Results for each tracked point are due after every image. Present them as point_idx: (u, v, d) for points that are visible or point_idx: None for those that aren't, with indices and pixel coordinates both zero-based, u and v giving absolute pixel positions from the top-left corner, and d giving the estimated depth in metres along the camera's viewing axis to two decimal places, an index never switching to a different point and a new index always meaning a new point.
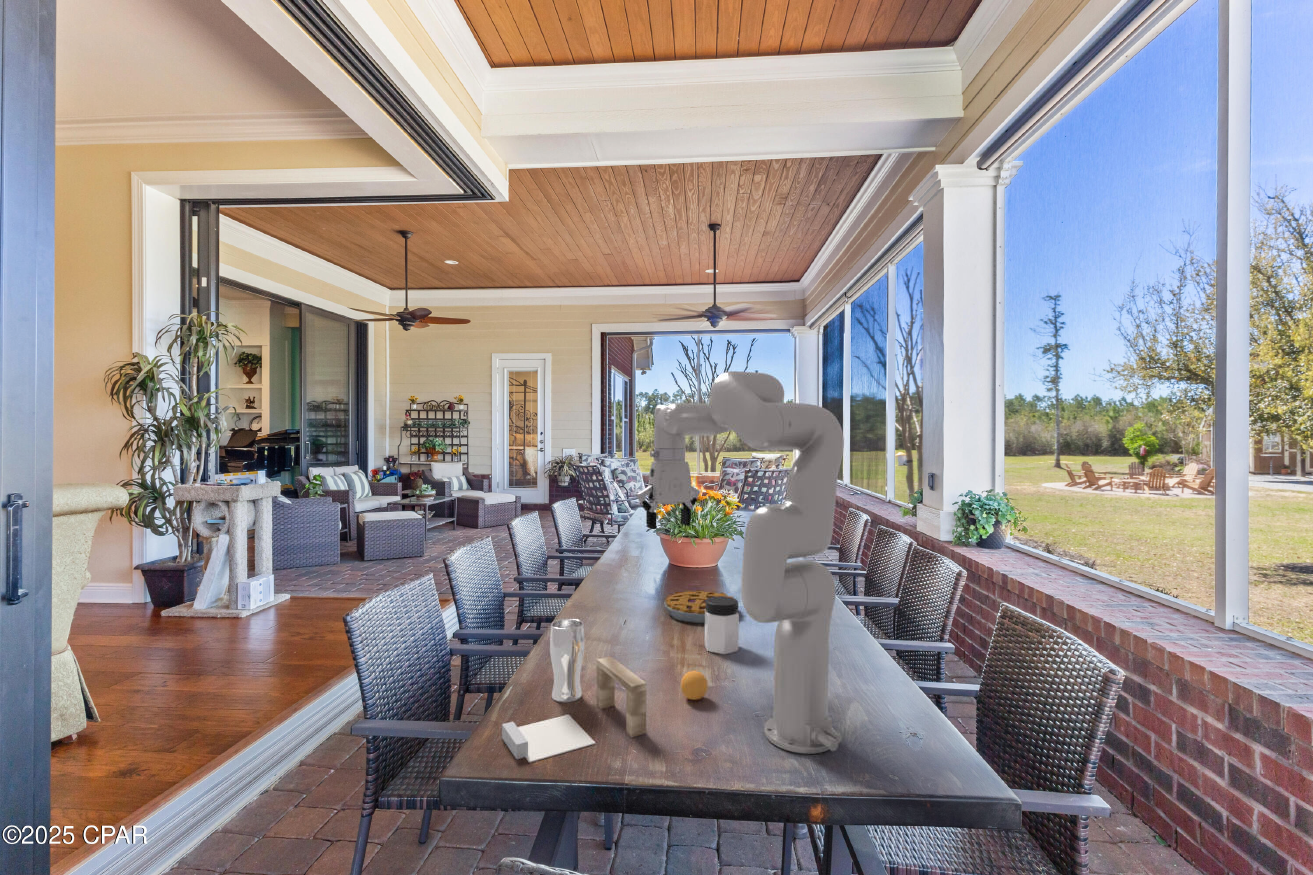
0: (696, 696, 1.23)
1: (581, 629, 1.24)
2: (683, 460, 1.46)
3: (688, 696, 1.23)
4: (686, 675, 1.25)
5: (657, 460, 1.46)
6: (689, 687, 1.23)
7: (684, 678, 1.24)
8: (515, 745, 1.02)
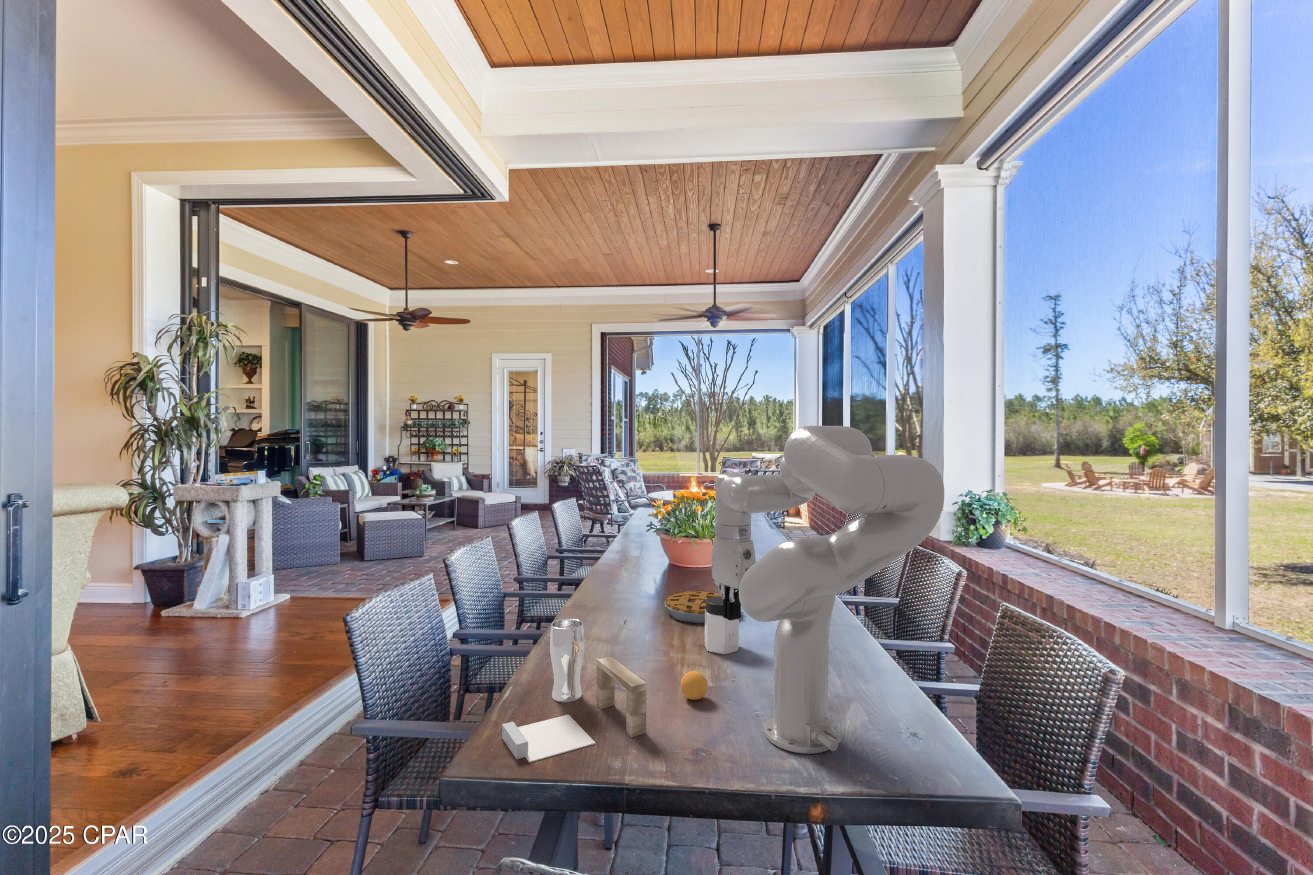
0: (696, 696, 1.23)
1: (581, 629, 1.24)
2: None
3: (688, 696, 1.23)
4: (686, 675, 1.25)
5: (746, 539, 1.26)
6: (689, 687, 1.23)
7: (684, 678, 1.24)
8: (515, 745, 1.02)
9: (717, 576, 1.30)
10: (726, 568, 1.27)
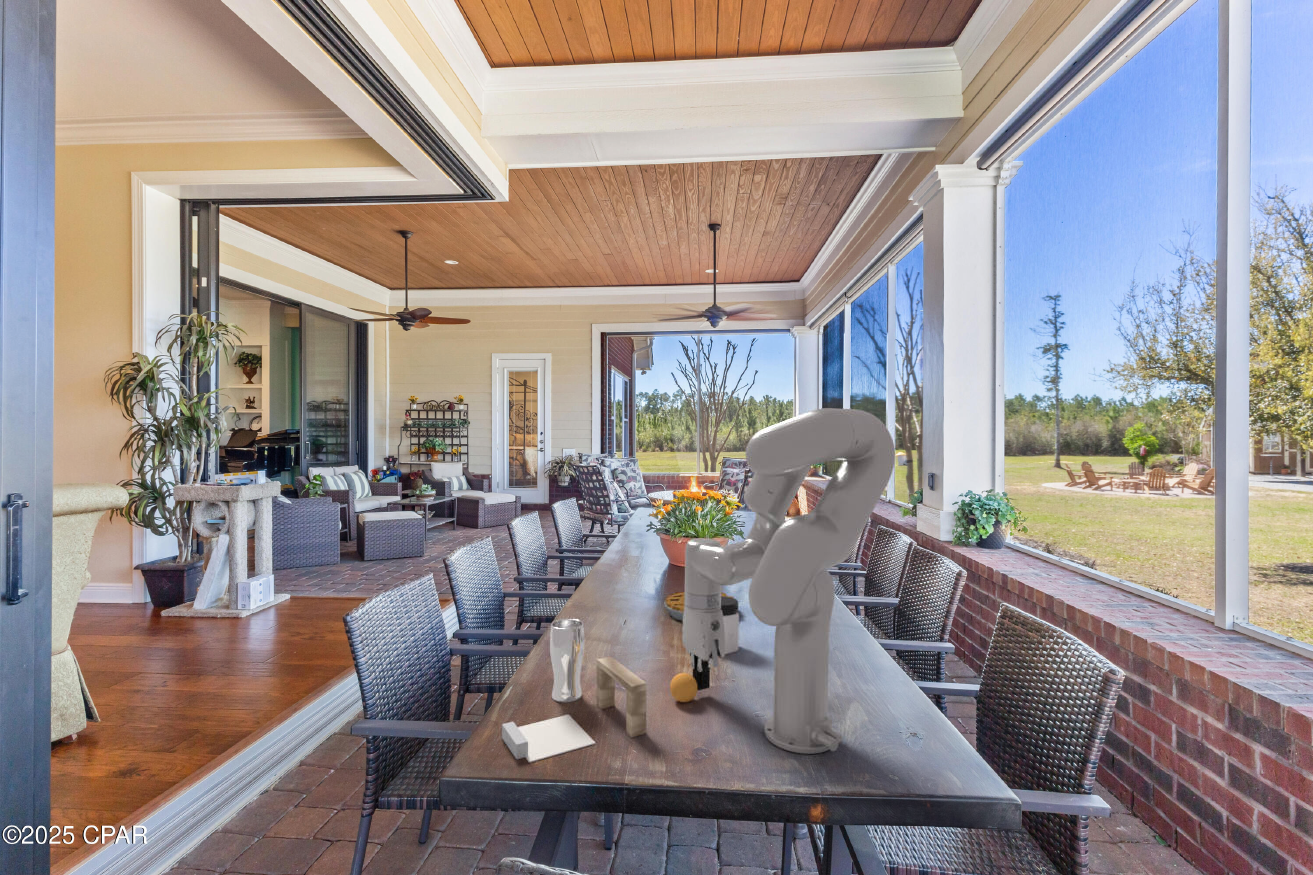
0: (689, 699, 1.22)
1: (581, 629, 1.24)
2: None
3: (683, 701, 1.23)
4: (671, 685, 1.23)
5: (714, 609, 1.23)
6: (678, 696, 1.22)
7: (671, 688, 1.23)
8: (515, 745, 1.02)
9: (687, 644, 1.27)
10: (694, 638, 1.24)
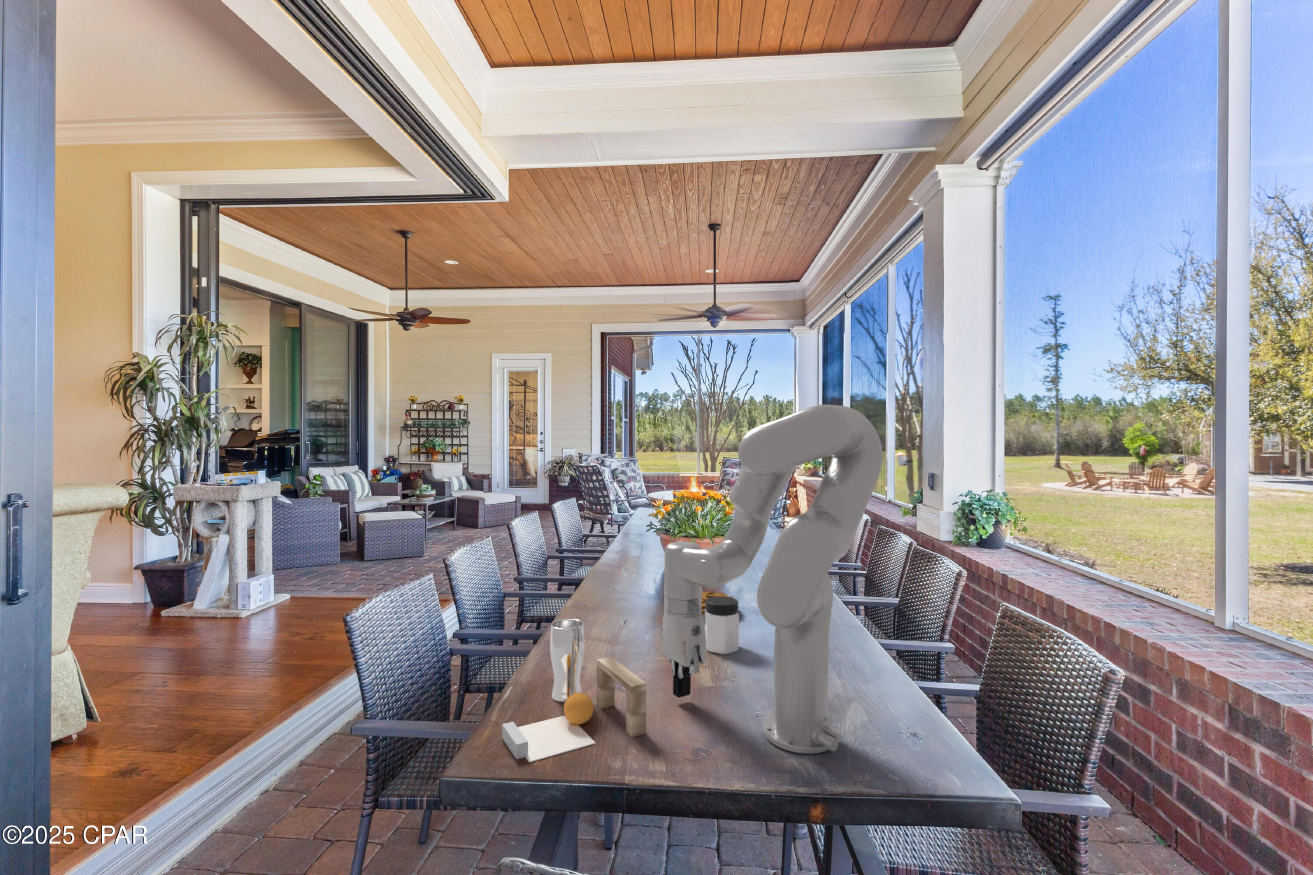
0: (590, 709, 1.13)
1: (581, 629, 1.24)
2: None
3: None
4: None
5: (695, 613, 1.20)
6: (587, 720, 1.14)
7: None
8: (515, 745, 1.02)
9: (667, 650, 1.24)
10: (675, 644, 1.21)
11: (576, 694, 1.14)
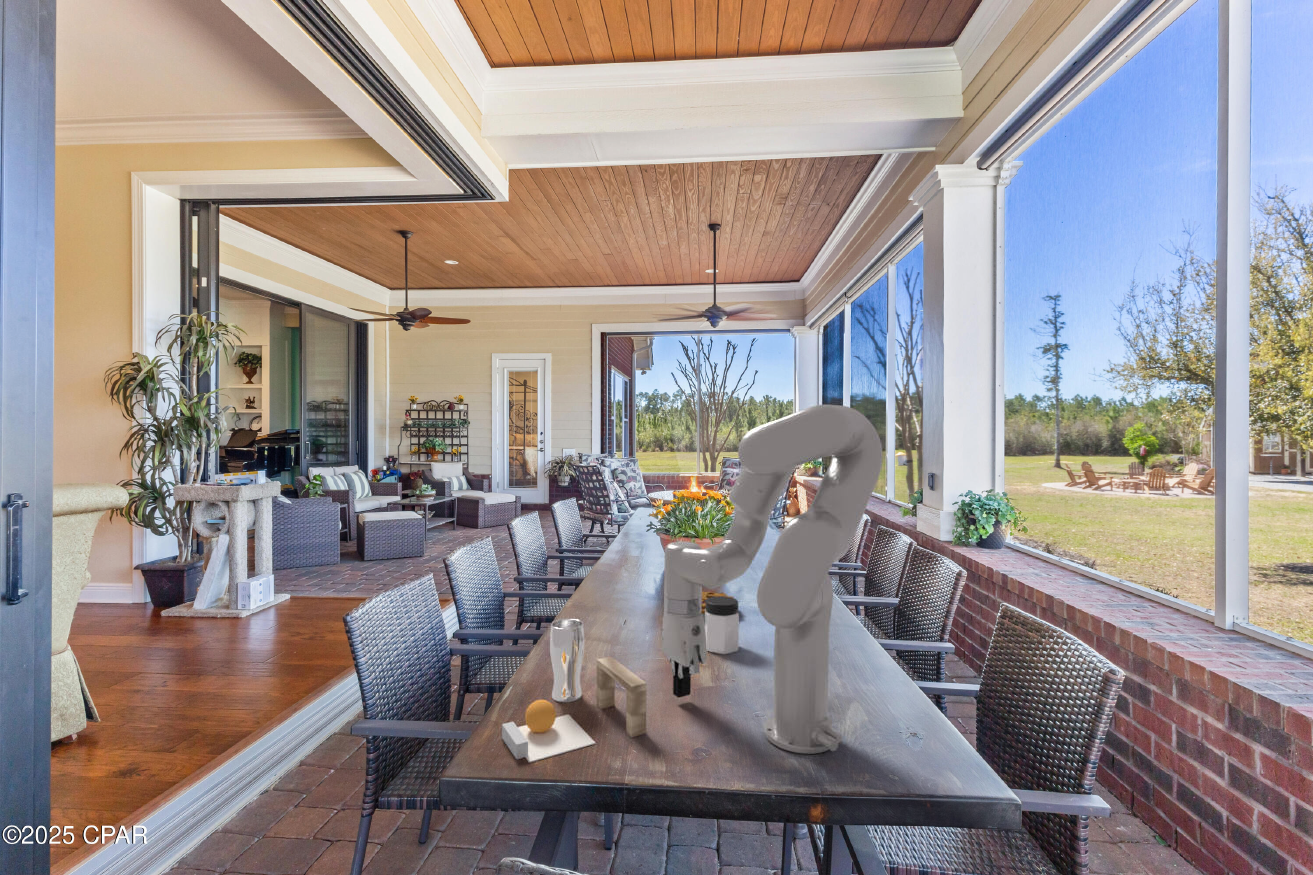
0: (535, 721, 1.09)
1: (581, 629, 1.24)
2: None
3: (531, 714, 1.09)
4: (547, 701, 1.12)
5: (695, 613, 1.20)
6: (541, 708, 1.10)
7: (544, 700, 1.12)
8: (515, 745, 1.02)
9: (667, 650, 1.24)
10: (675, 644, 1.21)
11: None
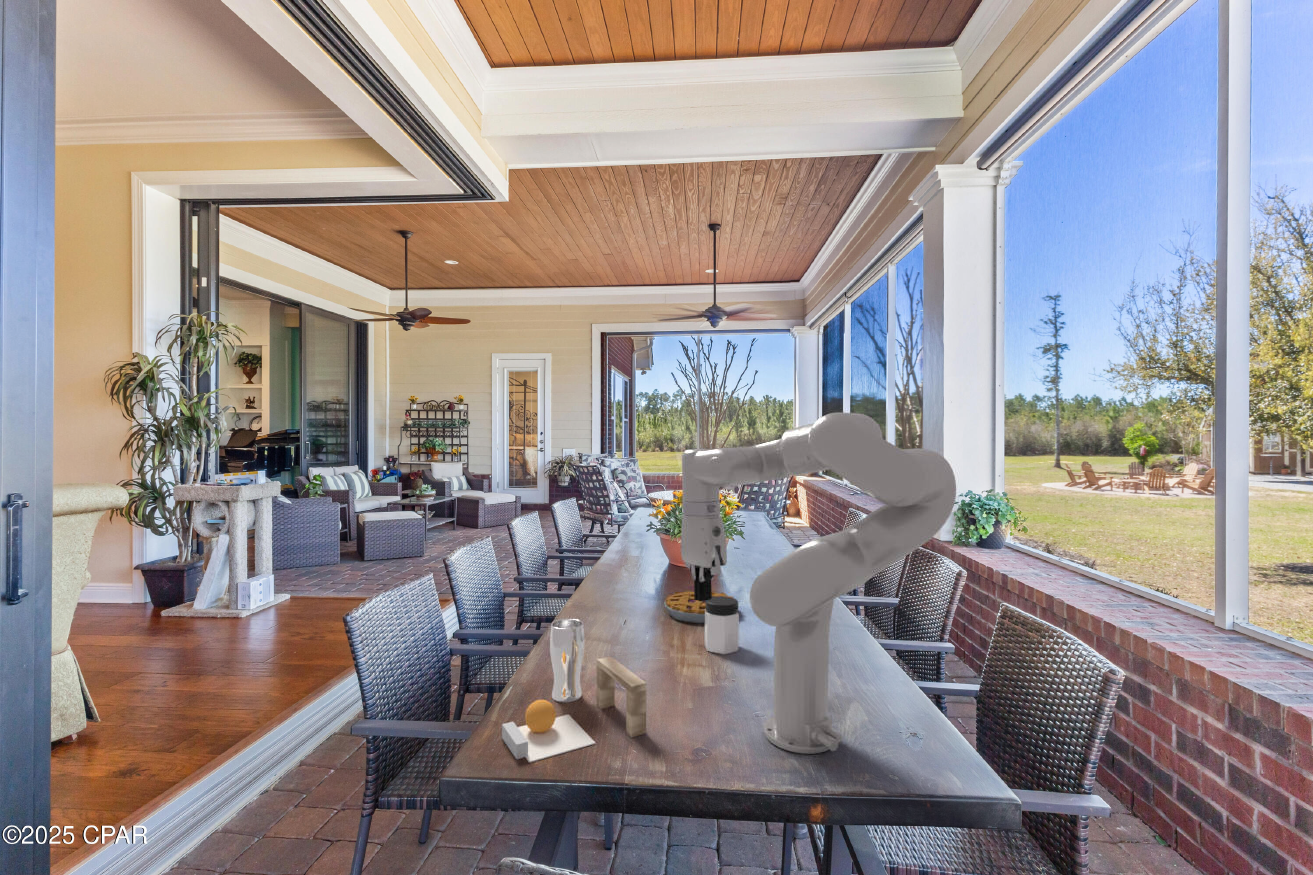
0: (535, 721, 1.09)
1: (581, 629, 1.24)
2: None
3: (531, 714, 1.09)
4: (547, 701, 1.12)
5: (714, 515, 1.22)
6: (541, 708, 1.10)
7: (544, 700, 1.12)
8: (515, 745, 1.02)
9: (687, 557, 1.25)
10: (695, 547, 1.23)
11: None
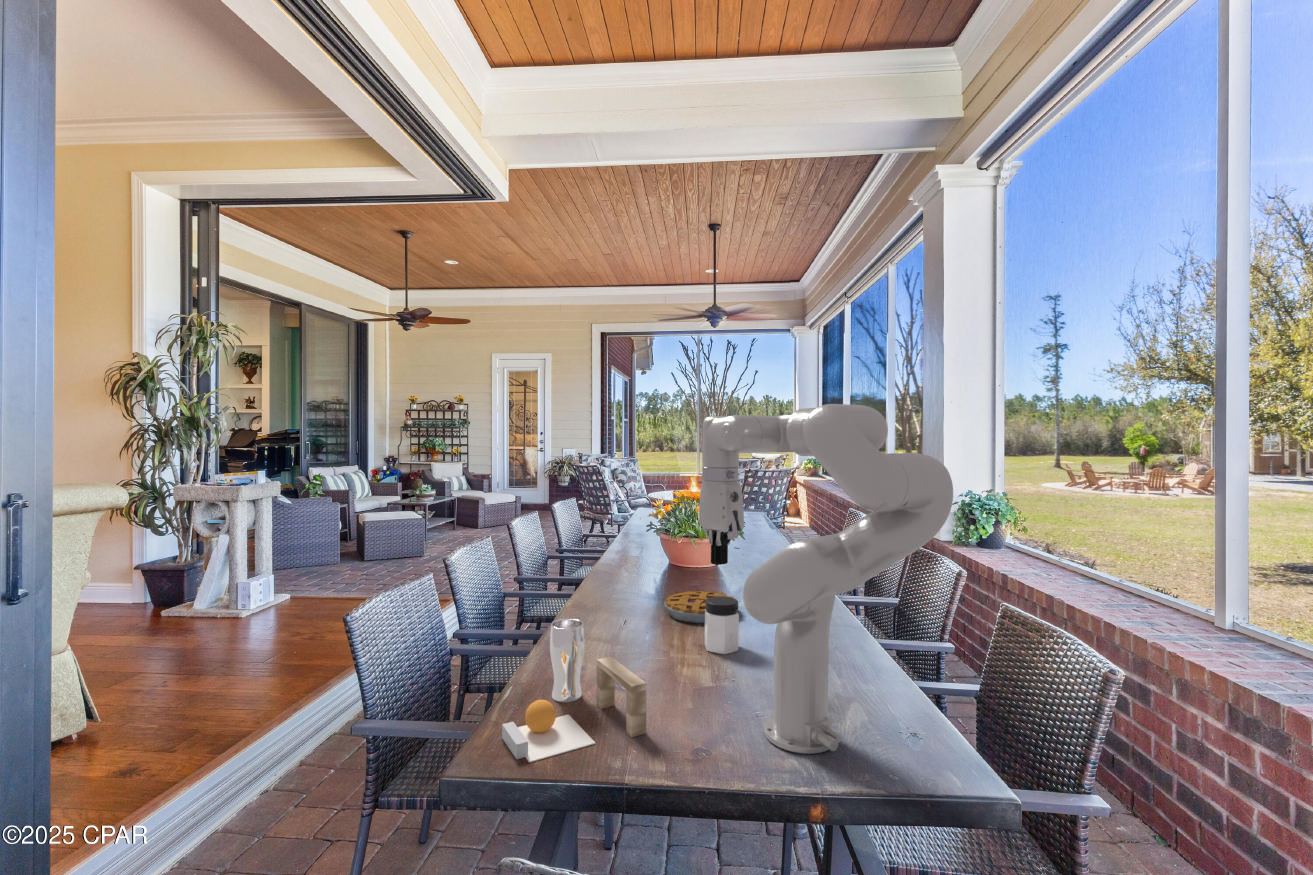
0: (535, 721, 1.09)
1: (581, 629, 1.24)
2: None
3: (531, 714, 1.09)
4: (547, 701, 1.12)
5: (733, 481, 1.24)
6: (541, 708, 1.10)
7: (544, 700, 1.12)
8: (515, 745, 1.02)
9: (705, 521, 1.28)
10: (713, 512, 1.25)
11: None
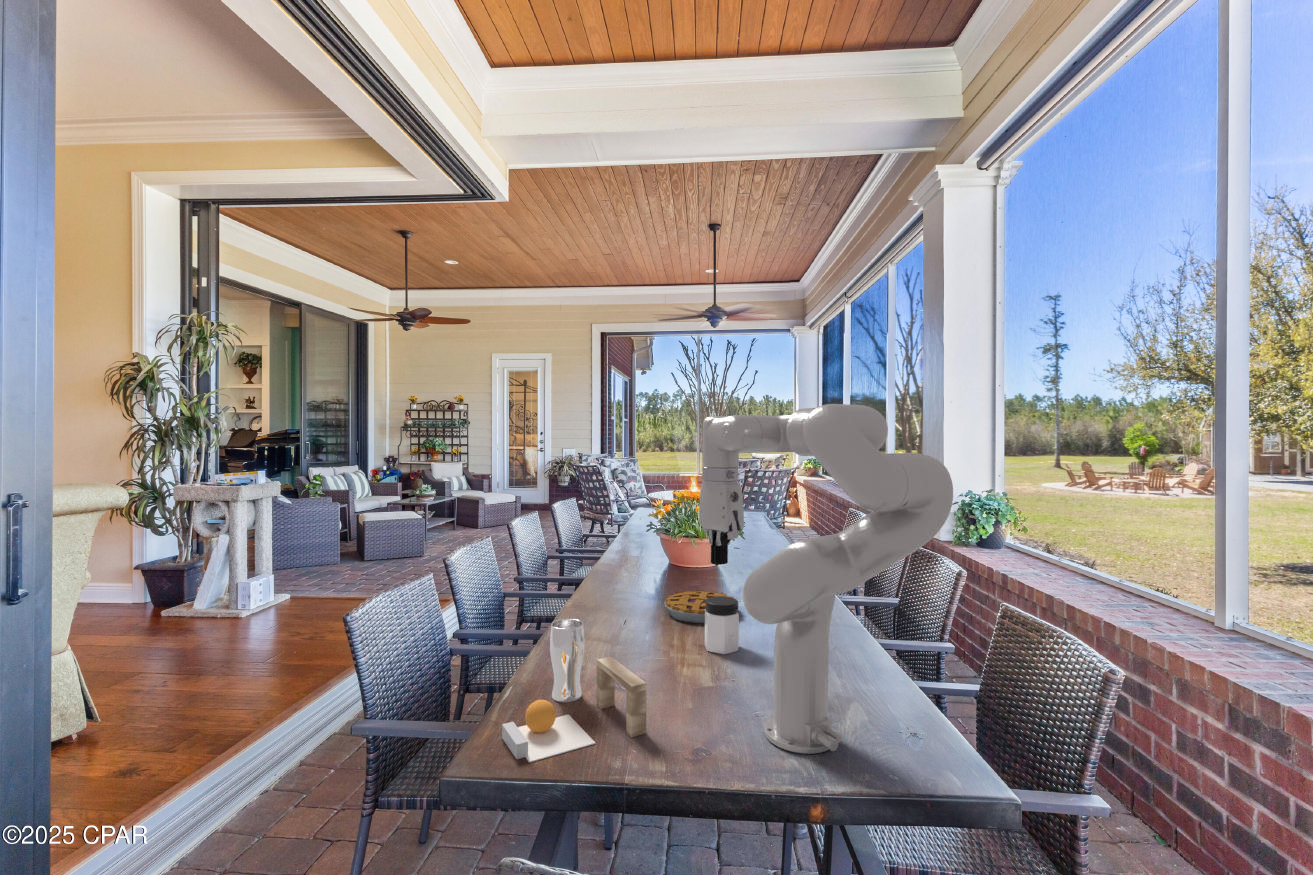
0: (535, 721, 1.09)
1: (581, 629, 1.24)
2: None
3: (531, 714, 1.09)
4: (547, 701, 1.12)
5: (733, 481, 1.24)
6: (541, 708, 1.10)
7: (544, 700, 1.12)
8: (515, 745, 1.02)
9: (705, 521, 1.28)
10: (713, 512, 1.25)
11: None
